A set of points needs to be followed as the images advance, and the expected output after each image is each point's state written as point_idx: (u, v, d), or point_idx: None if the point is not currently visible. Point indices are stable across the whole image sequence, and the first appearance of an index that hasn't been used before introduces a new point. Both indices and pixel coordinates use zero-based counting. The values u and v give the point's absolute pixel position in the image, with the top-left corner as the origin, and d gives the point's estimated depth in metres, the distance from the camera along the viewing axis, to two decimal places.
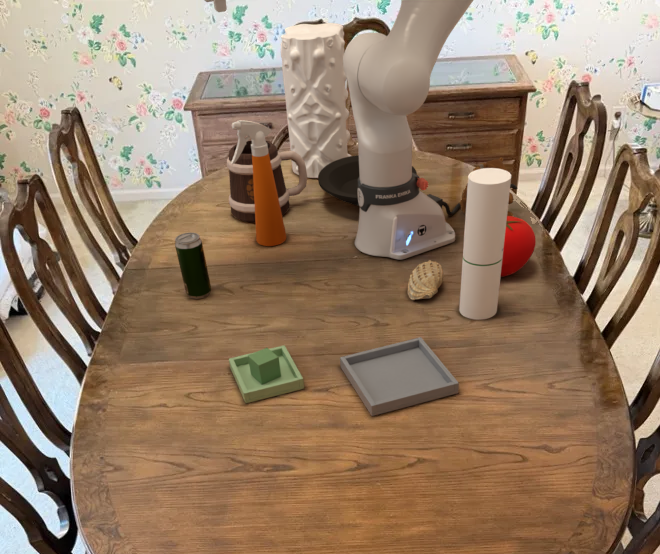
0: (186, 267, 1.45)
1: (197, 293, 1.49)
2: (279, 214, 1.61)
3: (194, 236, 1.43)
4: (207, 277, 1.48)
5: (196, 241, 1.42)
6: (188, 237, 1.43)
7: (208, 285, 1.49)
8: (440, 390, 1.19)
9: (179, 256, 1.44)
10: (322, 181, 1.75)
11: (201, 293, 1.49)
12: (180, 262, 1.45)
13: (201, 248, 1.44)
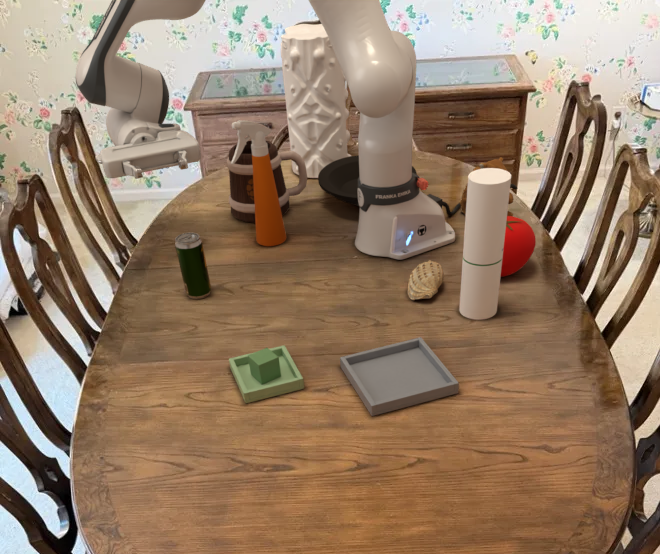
0: (187, 267, 1.45)
1: (197, 293, 1.49)
2: (279, 214, 1.61)
3: (194, 236, 1.43)
4: (207, 277, 1.48)
5: (196, 241, 1.42)
6: (188, 237, 1.43)
7: (208, 285, 1.49)
8: (440, 390, 1.19)
9: (179, 256, 1.44)
10: (321, 181, 1.75)
11: (201, 293, 1.49)
12: (180, 262, 1.45)
13: (201, 248, 1.44)
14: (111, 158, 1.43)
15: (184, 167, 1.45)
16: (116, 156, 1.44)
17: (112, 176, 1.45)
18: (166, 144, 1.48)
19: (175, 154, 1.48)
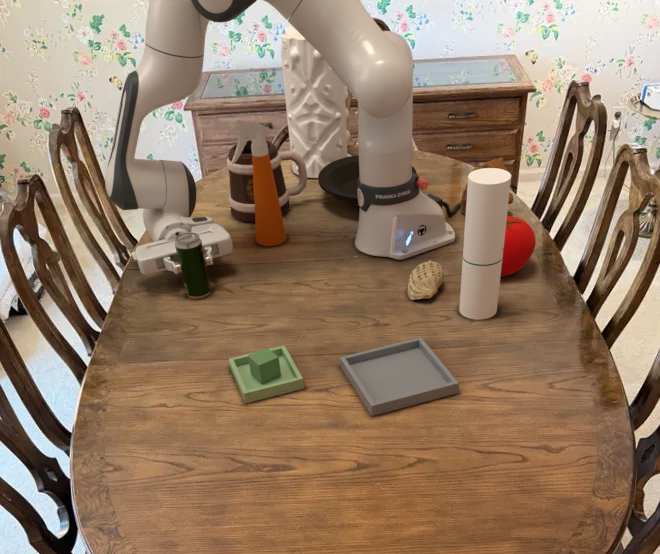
0: (186, 267, 1.45)
1: (197, 293, 1.49)
2: (279, 214, 1.61)
3: (194, 236, 1.43)
4: (207, 277, 1.48)
5: (196, 241, 1.42)
6: (188, 237, 1.43)
7: (208, 285, 1.49)
8: (440, 390, 1.19)
9: (179, 256, 1.44)
10: (322, 181, 1.75)
11: (201, 293, 1.49)
12: (180, 262, 1.45)
13: (201, 248, 1.44)
14: (145, 256, 1.47)
15: (209, 263, 1.47)
16: (150, 254, 1.47)
17: (147, 273, 1.48)
18: None
19: None
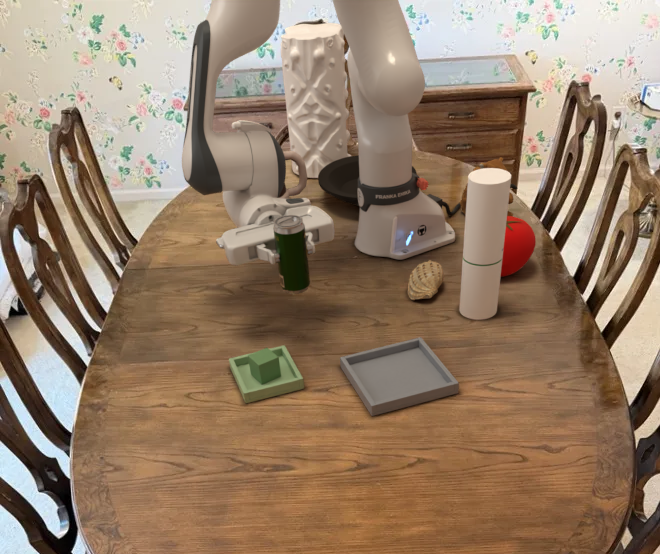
0: (286, 256, 1.22)
1: (295, 287, 1.26)
2: None
3: (296, 219, 1.21)
4: (307, 268, 1.26)
5: (299, 225, 1.20)
6: (289, 220, 1.21)
7: (308, 278, 1.27)
8: (440, 390, 1.19)
9: (278, 243, 1.21)
10: (322, 181, 1.75)
11: (300, 287, 1.26)
12: (278, 250, 1.22)
13: (304, 233, 1.21)
14: (236, 243, 1.24)
15: (311, 252, 1.25)
16: (241, 240, 1.25)
17: (237, 263, 1.26)
18: None
19: None
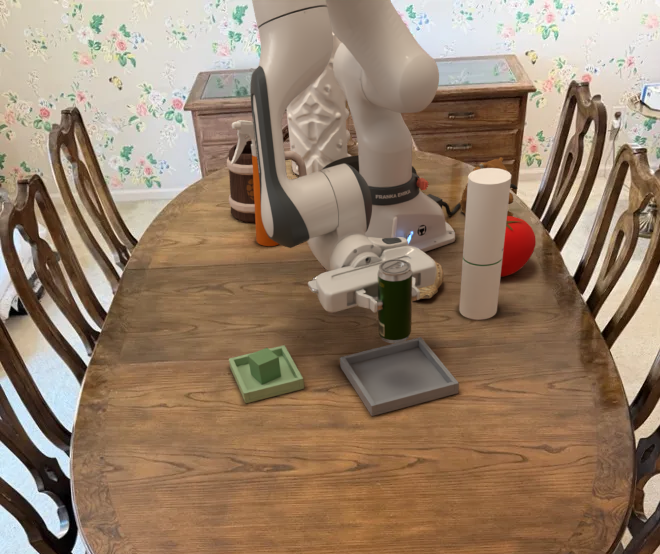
0: (391, 304, 1.12)
1: (397, 336, 1.16)
2: None
3: (403, 264, 1.11)
4: (410, 316, 1.15)
5: (408, 271, 1.09)
6: (395, 266, 1.11)
7: (410, 326, 1.16)
8: (440, 390, 1.19)
9: (383, 290, 1.11)
10: None
11: (402, 336, 1.16)
12: (382, 297, 1.12)
13: (411, 280, 1.11)
14: (334, 289, 1.14)
15: (415, 299, 1.15)
16: (339, 285, 1.15)
17: (333, 310, 1.15)
18: None
19: None
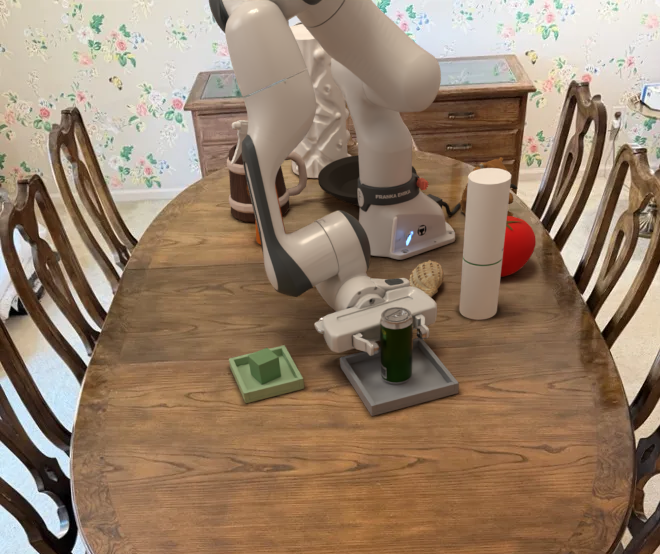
0: (392, 349, 1.18)
1: (398, 379, 1.22)
2: None
3: (404, 312, 1.16)
4: (411, 359, 1.21)
5: (409, 319, 1.15)
6: (397, 313, 1.16)
7: (411, 369, 1.22)
8: (440, 390, 1.19)
9: (385, 336, 1.17)
10: (322, 181, 1.75)
11: (403, 378, 1.22)
12: (384, 343, 1.18)
13: (412, 327, 1.17)
14: (340, 331, 1.19)
15: (425, 337, 1.20)
16: (344, 327, 1.20)
17: (339, 351, 1.21)
18: None
19: None
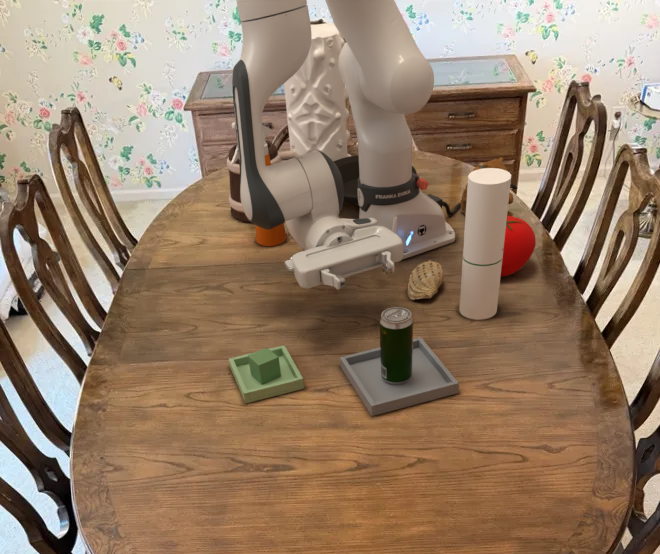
0: (392, 349, 1.18)
1: (398, 379, 1.22)
2: None
3: (404, 312, 1.16)
4: (411, 359, 1.21)
5: (409, 319, 1.15)
6: (397, 313, 1.16)
7: (411, 369, 1.22)
8: (440, 390, 1.19)
9: (385, 336, 1.17)
10: None
11: (403, 378, 1.22)
12: (384, 343, 1.18)
13: (412, 327, 1.17)
14: (308, 267, 1.24)
15: (390, 271, 1.25)
16: (313, 263, 1.24)
17: (308, 286, 1.25)
18: (366, 244, 1.28)
19: (377, 255, 1.27)
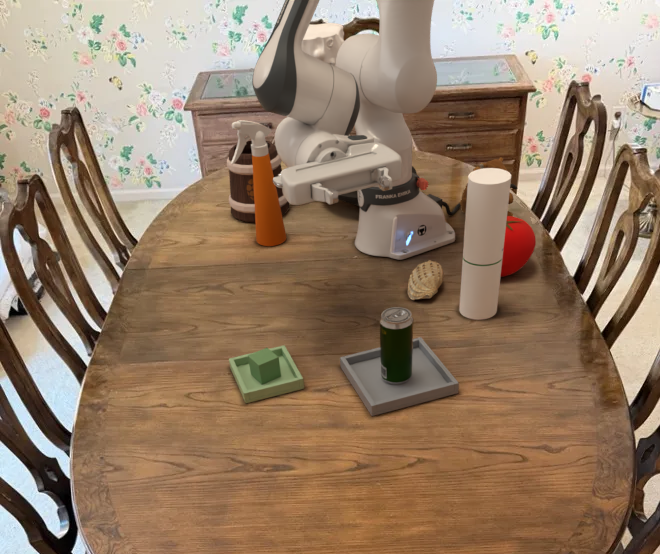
0: (392, 349, 1.18)
1: (398, 379, 1.22)
2: (279, 214, 1.61)
3: (404, 312, 1.16)
4: (411, 359, 1.21)
5: (409, 319, 1.15)
6: (397, 313, 1.16)
7: (411, 369, 1.22)
8: (440, 390, 1.19)
9: (385, 336, 1.17)
10: None
11: (403, 378, 1.22)
12: (384, 343, 1.18)
13: (412, 327, 1.17)
14: (298, 180, 1.13)
15: (388, 188, 1.14)
16: (303, 177, 1.14)
17: (297, 202, 1.15)
18: (361, 160, 1.17)
19: (373, 171, 1.17)
